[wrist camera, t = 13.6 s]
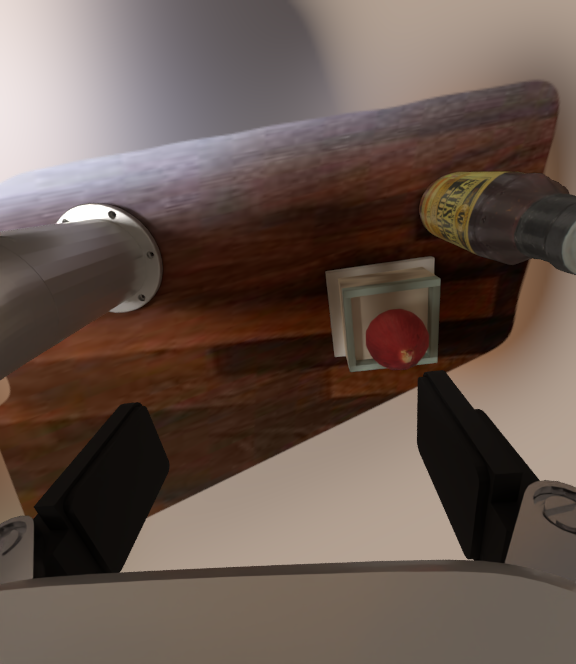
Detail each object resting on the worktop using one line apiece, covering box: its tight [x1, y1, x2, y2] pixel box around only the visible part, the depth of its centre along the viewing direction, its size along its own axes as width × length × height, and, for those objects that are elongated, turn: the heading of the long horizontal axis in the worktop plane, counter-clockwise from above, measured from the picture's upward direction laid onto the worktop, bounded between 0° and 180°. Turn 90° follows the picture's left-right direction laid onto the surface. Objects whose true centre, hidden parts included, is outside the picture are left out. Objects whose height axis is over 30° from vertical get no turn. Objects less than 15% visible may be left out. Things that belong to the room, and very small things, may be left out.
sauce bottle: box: [419, 172, 576, 275], centre depth 25 cm, size 7×6×20 cm
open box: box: [325, 256, 441, 372], centre depth 36 cm, size 12×11×6 cm
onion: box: [366, 309, 429, 370], centre depth 30 cm, size 6×6×8 cm
